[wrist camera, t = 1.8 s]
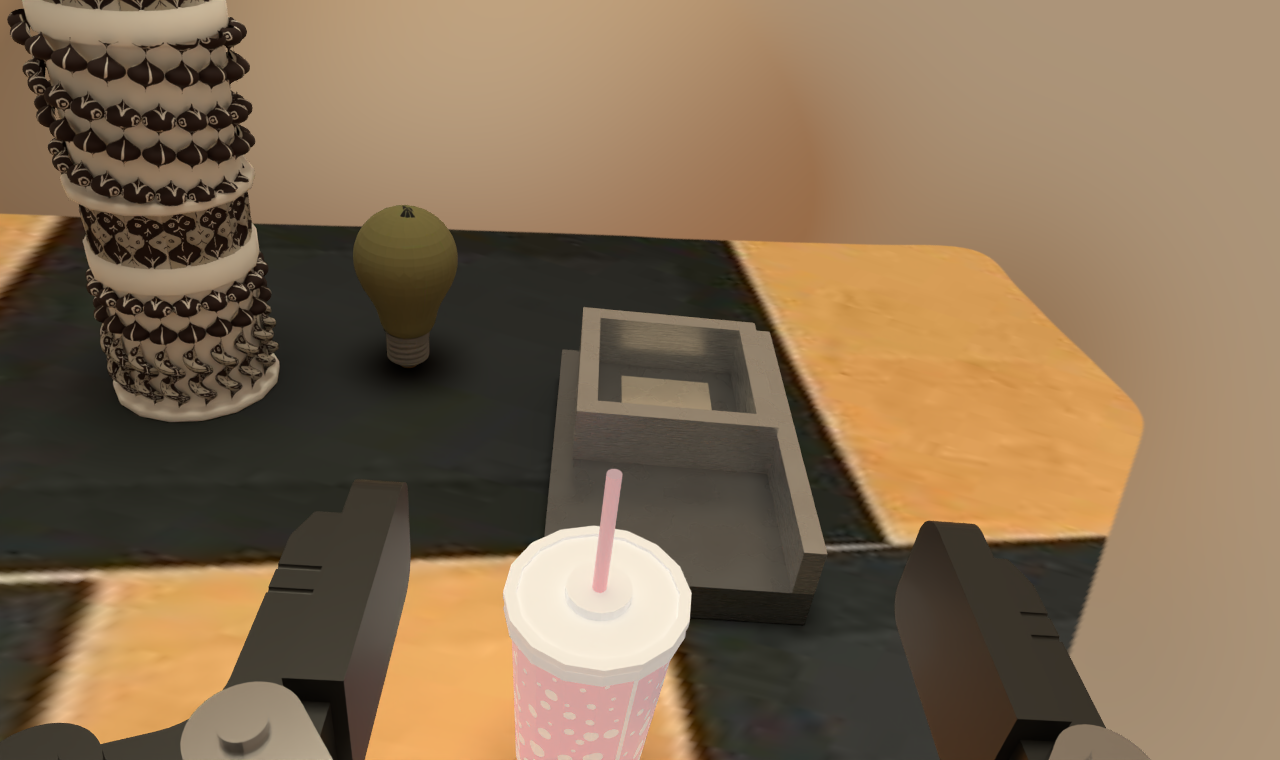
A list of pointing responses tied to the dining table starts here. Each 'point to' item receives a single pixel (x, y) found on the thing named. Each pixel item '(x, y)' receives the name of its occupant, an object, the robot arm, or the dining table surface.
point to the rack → (690, 458)
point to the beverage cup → (592, 638)
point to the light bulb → (405, 276)
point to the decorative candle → (159, 195)
